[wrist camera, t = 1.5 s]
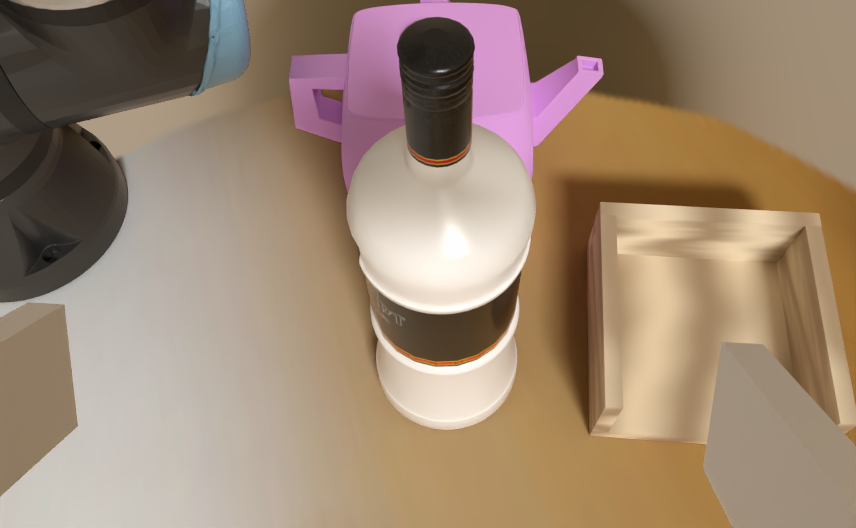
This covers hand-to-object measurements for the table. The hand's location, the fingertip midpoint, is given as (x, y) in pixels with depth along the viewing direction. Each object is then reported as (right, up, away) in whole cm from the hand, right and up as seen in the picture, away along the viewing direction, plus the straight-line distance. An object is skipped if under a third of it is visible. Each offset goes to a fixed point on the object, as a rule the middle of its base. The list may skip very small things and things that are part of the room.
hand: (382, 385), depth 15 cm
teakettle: (+2, +12, +45) cm, 47 cm away
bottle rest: (+19, -3, +36) cm, 41 cm away
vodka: (+2, -5, +36) cm, 36 cm away
